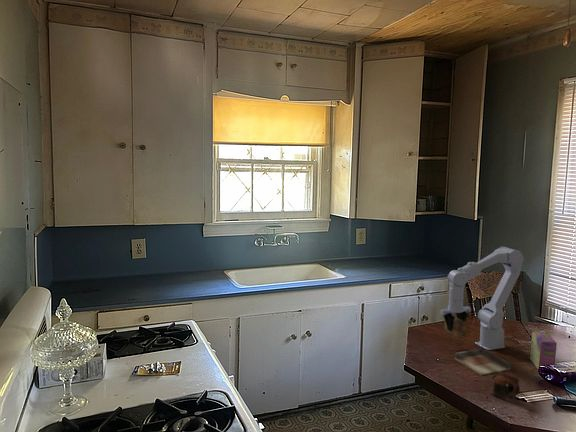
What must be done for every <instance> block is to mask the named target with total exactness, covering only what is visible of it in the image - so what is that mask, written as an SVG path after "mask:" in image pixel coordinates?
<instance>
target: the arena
mask: <svg viewBox="0 0 576 432" xmlns="http://www.w3.org/2000/svg"><path fill="white" fill-rule="evenodd" d="M453 357H454V360H456V361H458V362H459V363H460V364H462V365H463V366H465V367H467V368H469V369H470V370H471V371H473V372H475V373H477V374H479V376H483V375H489V374H495V373H496V372H501V373H502V372H505V371H511V362H509V361H508V360H505V359H503V358H501V357H499V356H497V355H496V354H494V353H492V352H490V351H489V350H487V349H485V348H483V347H480V348H476V349H470V350H464V351H458V352H454V356H453ZM496 374H497V373H496Z"/></svg>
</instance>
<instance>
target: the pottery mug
mask: <svg viewBox="0 0 576 432" xmlns="http://www.w3.org/2000/svg"><path fill="white" fill-rule="evenodd" d="M491 379H492V380H493V382H494V383H493V386H491V387H490V388H489V389H490V390H489V392H490V394H491V395H493V396H496V397H497V398H499V399H503V400H506V399H507V396H508V397H509V399H513V398H515V397H517V396H518V395H519V393H520V390H521V389H520V379H518V378H516V377H515V376H513V375H510V374H508V373H504V372H502V371H501V372H496V374H495V375H493V376H492V378H491ZM507 385H508V386H507Z"/></svg>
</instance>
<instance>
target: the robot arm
mask: <svg viewBox="0 0 576 432" xmlns="http://www.w3.org/2000/svg"><path fill="white" fill-rule="evenodd" d="M524 260H525V258H524V256H523V253H522V252H521V251H520V250H517V249H513V248H510V247H507V246H500V247H499V248H497V249H494V251H493V252H492V253H490V254H489V255H486V256H485V257H484V258H482V259H480V260H479V261H477V262H475V261H469V262H467V264H466V265H463V266H462V267H459V268H457V270H456V269H453V270H451V271H450V272H449V273H448V275H447V276H446V278H447V281H448V283H449V287H448V288H449V292H448V293H449V295H448V306H447V307H446V308H443V309H440V310H439V315H441V316H443V319H444V320H445V321H446V324H447V329H448V330H450V331H452V328H453V321H454V318H455V317H456V318H458V319H460V320H462V321H464V322H466V319H467V318H468V317H469V313H471V312H472V308H471V306H469V305H468V306H464V293H465V292H464V290H465V285H466V284H467V283H468V281H469V280H471V279H473V278H475V277H476V276H479V275H480V274H481V272H482V270H483V269H486V268H488V267H491V266H492V265H495V264H497V263H500V264H502V265H503V267H504V269H505V271H504V274H503V276H502V277H501V279H500V282H499V283H498V285H497V286H496V289H495V291H494V294H493V295H492V297H491V299H490V301H489V302H488V303H486V304H484V305H483V307H482V308H481V309H479V311H478V312H477V319H478V320H479V321H480V322H479V324H480V331H479V332H480V333H479V341H476V342H474V343H475V345H477V346H479V347H480V348H483V349H485V350H486V351H493V350H497V349H503V348H506V345H504V344H505V343H504V342H505V329H504V327H502V326H503V323H504V318H505V317H504V316H505V312H504V309H503V308H504V306H505V304H506V302H507V300H508V298H509V296H510V294H511V292H513V288H514V287H515V285H516V282H517V281H518V279H519V276H520V275H521V271H522V265H523V262H524ZM454 314H455V315H456V316H454Z"/></svg>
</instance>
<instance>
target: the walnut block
mask: <svg viewBox="0 0 576 432" xmlns="http://www.w3.org/2000/svg"><path fill="white" fill-rule="evenodd" d="M454 317H455V318H454V321H453V328H452V331H450V330H448V329H447V324H446V321H445V319H444V322H443V323H444V325H443V331H444V332H446V333H448V334H450V335H451V336H453V337H455V338H461V337H465V336H466V331H467V330H466V329H467V327H466V326H467V322H466V321H465V322H464V321H462V320H460V319H458V318H457V316H454Z"/></svg>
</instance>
